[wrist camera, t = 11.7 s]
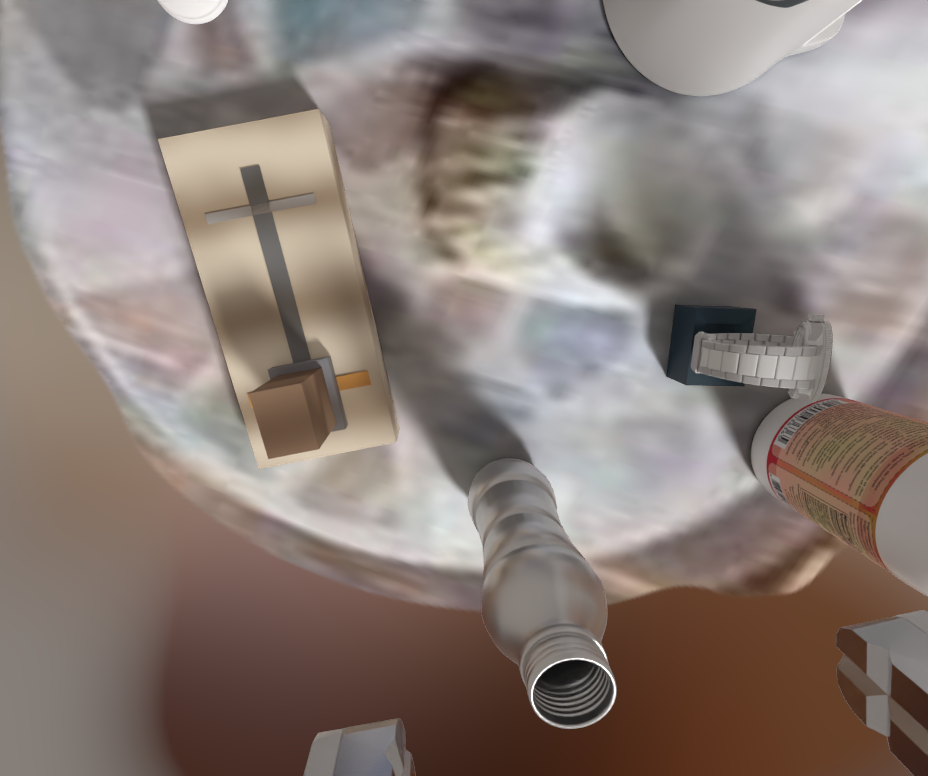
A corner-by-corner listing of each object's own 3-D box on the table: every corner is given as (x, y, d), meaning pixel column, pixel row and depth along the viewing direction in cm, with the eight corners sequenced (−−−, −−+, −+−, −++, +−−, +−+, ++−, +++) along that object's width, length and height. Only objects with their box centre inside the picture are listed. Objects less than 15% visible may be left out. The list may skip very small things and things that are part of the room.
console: (182, 151, 33) (156, 138, 30) (329, 123, 33) (318, 108, 30) (272, 454, 38) (258, 469, 35) (399, 429, 38) (396, 442, 35)
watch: (743, 377, 38) (862, 417, 28) (644, 376, 38) (725, 415, 27) (755, 306, 37) (884, 318, 26) (652, 303, 37) (741, 314, 26)
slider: (272, 367, 33) (237, 386, 27) (330, 355, 33) (307, 372, 27) (292, 435, 34) (262, 468, 28) (348, 424, 34) (329, 455, 28)
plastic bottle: (523, 536, 40) (602, 777, 21) (451, 503, 39) (464, 724, 20) (562, 471, 39) (683, 663, 20) (488, 435, 38) (542, 600, 19)
